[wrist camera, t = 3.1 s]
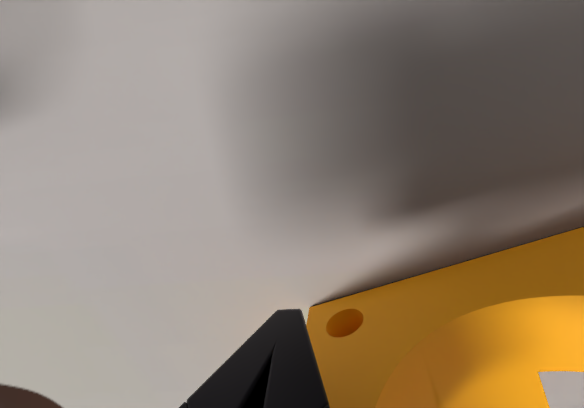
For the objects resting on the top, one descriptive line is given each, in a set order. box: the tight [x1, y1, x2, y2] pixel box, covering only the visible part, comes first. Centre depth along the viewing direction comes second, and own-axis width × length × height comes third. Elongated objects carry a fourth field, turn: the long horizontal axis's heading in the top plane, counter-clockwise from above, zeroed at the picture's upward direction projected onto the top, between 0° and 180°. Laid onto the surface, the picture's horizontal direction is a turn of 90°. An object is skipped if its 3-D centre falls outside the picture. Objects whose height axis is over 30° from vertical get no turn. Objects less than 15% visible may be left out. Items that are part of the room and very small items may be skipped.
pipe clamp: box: [306, 227, 584, 408], centre depth 8 cm, size 12×4×6 cm, turn 115°
